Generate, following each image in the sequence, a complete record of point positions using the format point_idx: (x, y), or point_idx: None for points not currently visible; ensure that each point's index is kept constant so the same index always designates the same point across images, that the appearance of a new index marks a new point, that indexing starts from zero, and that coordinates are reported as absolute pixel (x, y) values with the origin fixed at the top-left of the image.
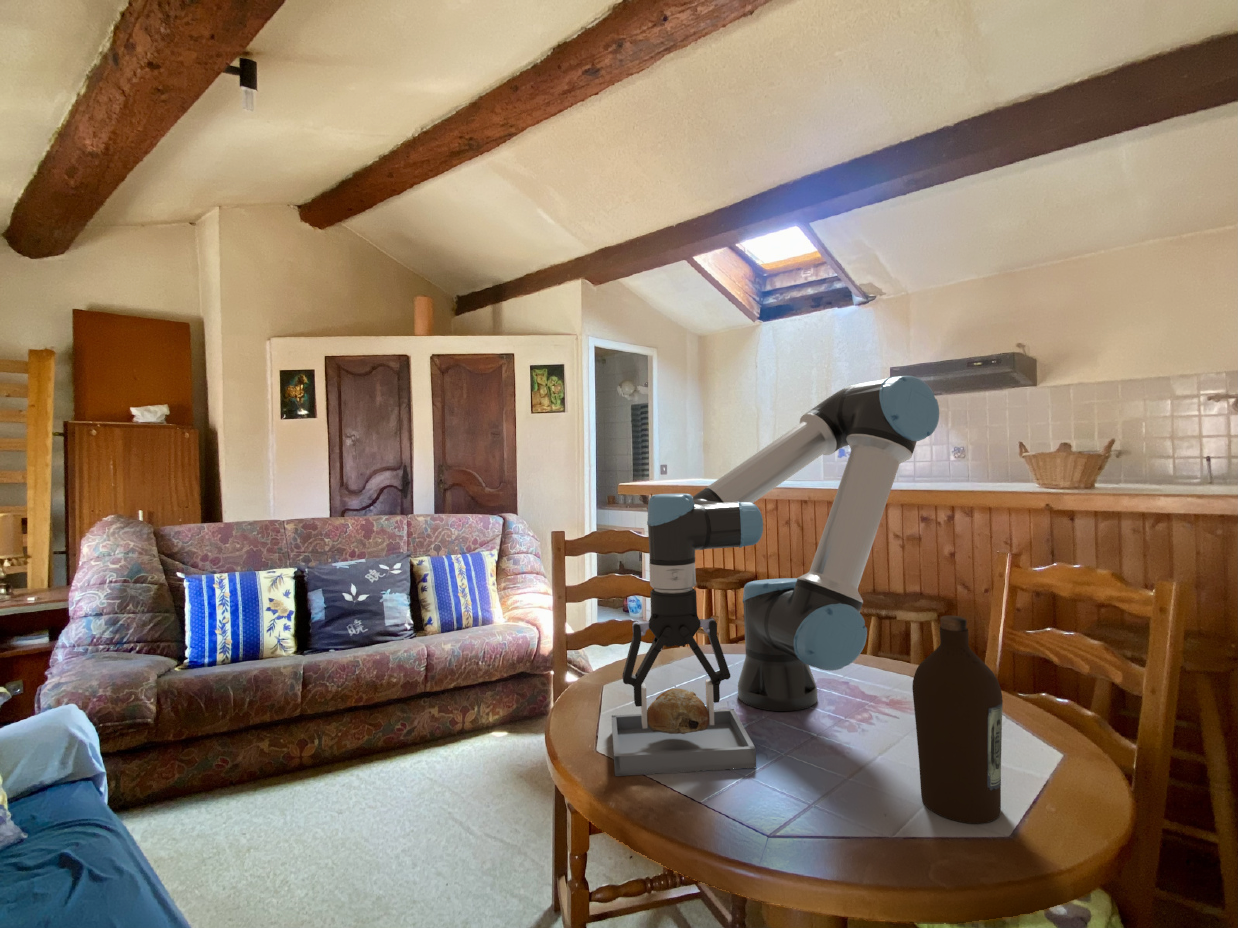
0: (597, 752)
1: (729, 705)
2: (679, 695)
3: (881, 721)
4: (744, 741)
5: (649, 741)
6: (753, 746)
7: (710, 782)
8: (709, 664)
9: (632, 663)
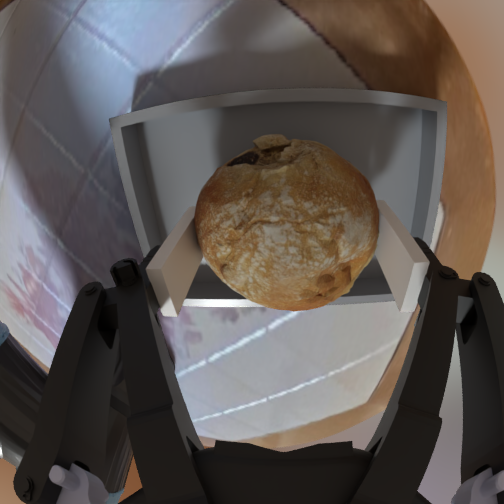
0: (444, 204)
1: (184, 346)
2: (281, 237)
3: (15, 269)
4: (134, 170)
5: None
6: (112, 128)
7: (225, 48)
8: (121, 330)
9: (497, 333)
